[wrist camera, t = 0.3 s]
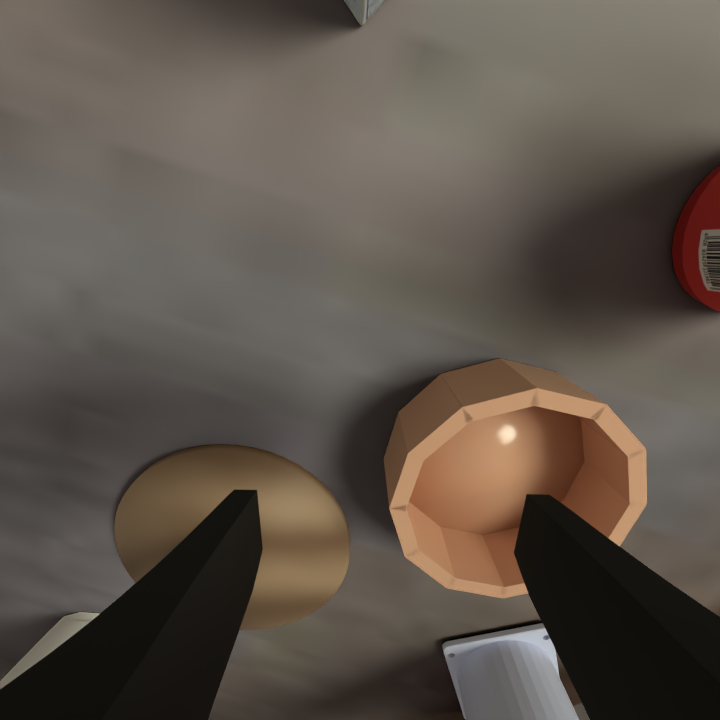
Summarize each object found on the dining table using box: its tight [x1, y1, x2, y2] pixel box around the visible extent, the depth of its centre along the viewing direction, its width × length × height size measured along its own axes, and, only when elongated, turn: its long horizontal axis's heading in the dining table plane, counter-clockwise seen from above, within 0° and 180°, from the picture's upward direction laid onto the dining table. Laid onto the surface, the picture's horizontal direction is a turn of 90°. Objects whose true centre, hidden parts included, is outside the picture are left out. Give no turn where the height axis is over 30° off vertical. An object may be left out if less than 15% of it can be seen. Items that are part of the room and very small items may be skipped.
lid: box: [114, 444, 350, 630], centre depth 20 cm, size 15×15×5 cm
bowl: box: [384, 358, 647, 598], centre depth 18 cm, size 12×12×4 cm
